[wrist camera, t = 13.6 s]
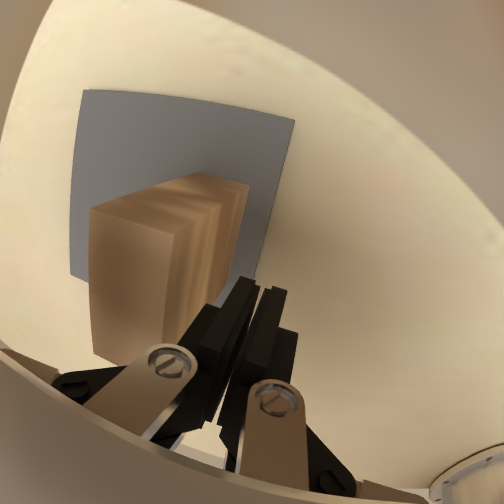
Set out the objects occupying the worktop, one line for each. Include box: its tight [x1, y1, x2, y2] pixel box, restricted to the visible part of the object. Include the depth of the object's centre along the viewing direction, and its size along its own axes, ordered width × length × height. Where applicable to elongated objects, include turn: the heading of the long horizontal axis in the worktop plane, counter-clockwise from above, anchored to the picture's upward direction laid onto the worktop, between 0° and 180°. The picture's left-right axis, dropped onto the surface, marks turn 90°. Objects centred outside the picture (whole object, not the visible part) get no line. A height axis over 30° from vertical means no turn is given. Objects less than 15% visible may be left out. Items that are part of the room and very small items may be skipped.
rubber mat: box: [70, 90, 295, 308], centre depth 18 cm, size 14×14×1 cm
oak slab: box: [88, 172, 250, 366], centre depth 14 cm, size 3×6×9 cm, turn 166°
